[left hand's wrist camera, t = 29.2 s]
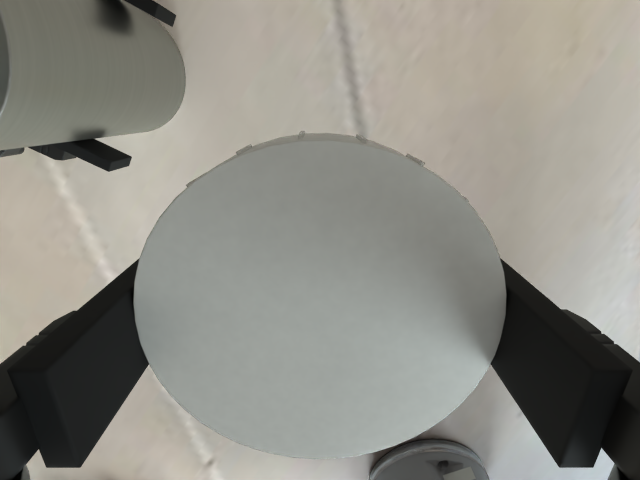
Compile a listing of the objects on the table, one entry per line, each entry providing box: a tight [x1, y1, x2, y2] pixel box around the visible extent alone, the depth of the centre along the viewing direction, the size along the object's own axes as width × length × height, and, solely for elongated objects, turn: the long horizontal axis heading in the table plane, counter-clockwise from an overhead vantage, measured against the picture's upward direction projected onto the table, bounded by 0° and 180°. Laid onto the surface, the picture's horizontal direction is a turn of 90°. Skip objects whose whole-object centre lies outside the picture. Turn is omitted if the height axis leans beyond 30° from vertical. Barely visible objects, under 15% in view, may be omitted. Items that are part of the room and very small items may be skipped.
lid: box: [133, 131, 507, 459], centre depth 11 cm, size 11×11×2 cm
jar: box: [0, 0, 185, 150], centre depth 20 cm, size 10×10×20 cm
